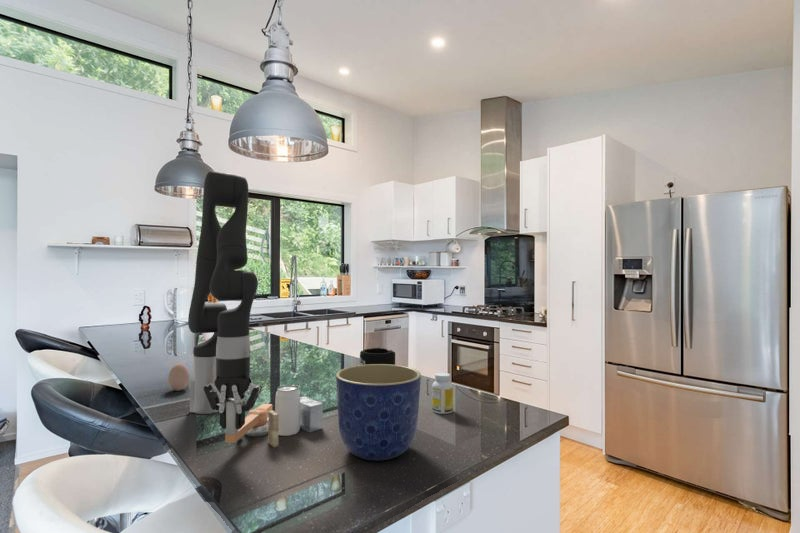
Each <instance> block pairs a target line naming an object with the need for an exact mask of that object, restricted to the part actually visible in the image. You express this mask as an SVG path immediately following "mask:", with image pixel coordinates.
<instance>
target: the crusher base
mask: <svg viewBox="0 0 800 533" xmlns="http://www.w3.org/2000/svg"><path fill="white" fill-rule="evenodd" d="M323 407H324V406H323V403H322V402H321V401H318V400H315V399H312V398H310V397H307V396H300V429H302V430H305V431H306V432H309V433H313V432H316V431H320V430H322V429H323V416H324V415H323V412H324V411H323V409H324V408H323ZM245 435H246V436H248V437H261V436H266V435H268V422H267V423H266V424H264V425H260V426H254V427H253V428H251V429H250V430H249V431H248V432H247V433H246V434H245ZM243 438H244V435H243V436H242V437H241V438H240V439H239V440H238V441H237V442H242V441H243Z"/></svg>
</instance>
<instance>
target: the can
mask: <svg viewBox="0 0 800 533" xmlns="http://www.w3.org/2000/svg"><path fill="white" fill-rule="evenodd" d="M276 389H277V391H276V392H275V406H274V407H275V409H274V411H275V412H276V413H278V414H279V425H278V437H279V436H280V437H291V436H294V435H297V434H298V433H299V432H300V429H301V428H300V397H301V392H300V390H299V389H300V388H299V386H298V385H295V384H283V385H280V386H278V387H277V388H276Z"/></svg>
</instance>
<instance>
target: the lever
mask: <svg viewBox="0 0 800 533" xmlns="http://www.w3.org/2000/svg"><path fill="white" fill-rule="evenodd" d="M272 410H273V404H272V403H262V404H260V405H259V406H258V407H256V408H254V409H253V408H252V409H250V410H249V411H247V412H248V413H247V416H245V424H244V425H243V426H242V428H240V429H236V414H237V409H236V404H235V403H234V399H233V398H231V399H229V400H227V401H226V429H225V434H224V435H225V436H224V443H227V444H228V443H230V444H235V443H236V442H239V441H238V440H239V439H240V438H241V437H242V436H243V437H244V436H245V435H246V433H247V432H248V431H249V430H250V429H251V428H253V427H254V426H260V425H264V424H266V423H267V422H268V411H272Z"/></svg>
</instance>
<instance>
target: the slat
mask: <svg viewBox="0 0 800 533" xmlns="http://www.w3.org/2000/svg"><path fill="white" fill-rule="evenodd" d="M278 425H279V414H278V413H276V412H275V410H273V409H272V411H268V434H267V444H268V445H270V446H271V447H273V448H277V447H279V435H278Z"/></svg>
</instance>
